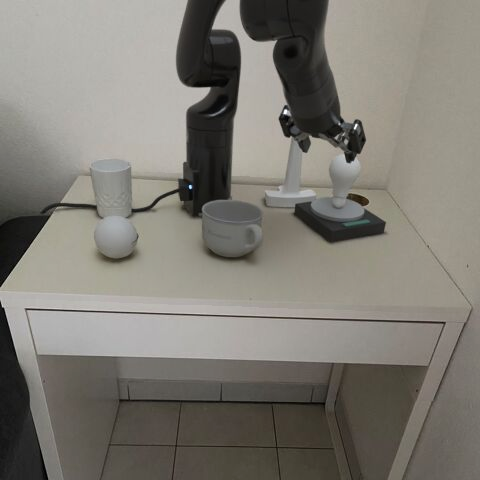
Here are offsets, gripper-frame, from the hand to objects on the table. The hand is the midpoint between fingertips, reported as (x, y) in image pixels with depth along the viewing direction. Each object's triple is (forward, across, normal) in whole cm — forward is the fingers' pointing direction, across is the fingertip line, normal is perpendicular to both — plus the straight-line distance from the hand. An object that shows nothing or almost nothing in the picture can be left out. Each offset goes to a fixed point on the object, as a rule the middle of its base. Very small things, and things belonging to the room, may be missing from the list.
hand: (328, 153), depth 89 cm
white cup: (0, +37, +24) cm, 44 cm away
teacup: (0, +9, +23) cm, 25 cm away
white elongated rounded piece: (-9, +25, +32) cm, 41 cm away
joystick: (+20, +12, +3) cm, 24 cm away
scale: (+17, -2, +6) cm, 18 cm away
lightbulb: (+15, -1, +4) cm, 15 cm away
